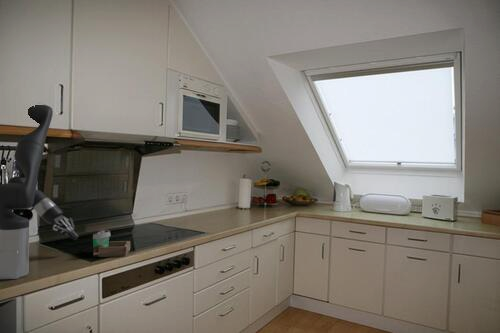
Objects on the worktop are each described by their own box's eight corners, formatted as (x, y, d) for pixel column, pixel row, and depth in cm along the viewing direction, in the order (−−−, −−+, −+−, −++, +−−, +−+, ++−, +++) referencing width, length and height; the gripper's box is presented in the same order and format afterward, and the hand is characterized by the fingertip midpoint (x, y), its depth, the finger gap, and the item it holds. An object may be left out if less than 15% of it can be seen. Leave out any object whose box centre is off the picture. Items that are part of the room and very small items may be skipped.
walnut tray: (126, 256, 153) (126, 247, 153) (98, 257, 151) (98, 247, 151) (130, 249, 166) (130, 240, 166) (104, 250, 163) (104, 241, 163)
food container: (107, 256, 152) (107, 233, 152) (92, 257, 151) (92, 234, 151) (112, 249, 164) (113, 228, 164) (98, 250, 163) (99, 229, 163)
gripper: (44, 208, 146) (74, 238, 147) (62, 201, 159) (89, 228, 160) (32, 220, 147) (62, 249, 148) (51, 212, 160) (79, 238, 161)
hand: (76, 238), depth 154 cm, fingers closed
